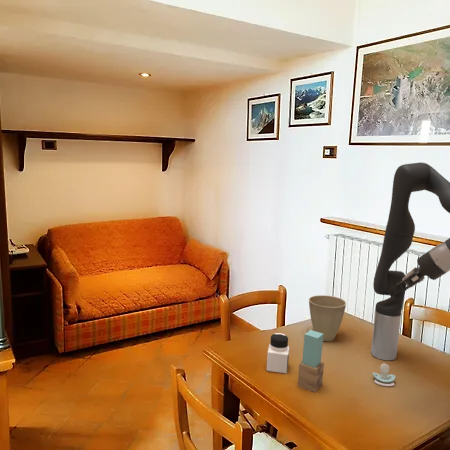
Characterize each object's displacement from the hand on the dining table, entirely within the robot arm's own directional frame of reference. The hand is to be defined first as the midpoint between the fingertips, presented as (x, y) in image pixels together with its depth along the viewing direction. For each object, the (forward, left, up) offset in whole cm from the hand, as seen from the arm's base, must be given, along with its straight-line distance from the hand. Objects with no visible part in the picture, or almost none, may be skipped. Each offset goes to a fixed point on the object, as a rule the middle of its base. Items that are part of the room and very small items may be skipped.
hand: (393, 290), depth 129 cm
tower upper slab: (+8, -21, -31) cm, 38 cm away
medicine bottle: (+4, -35, -35) cm, 49 cm away
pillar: (+8, -21, -27) cm, 35 cm away
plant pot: (-31, -31, -35) cm, 56 cm away
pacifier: (-9, -2, -35) cm, 36 cm away
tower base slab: (+8, -21, -35) cm, 41 cm away
